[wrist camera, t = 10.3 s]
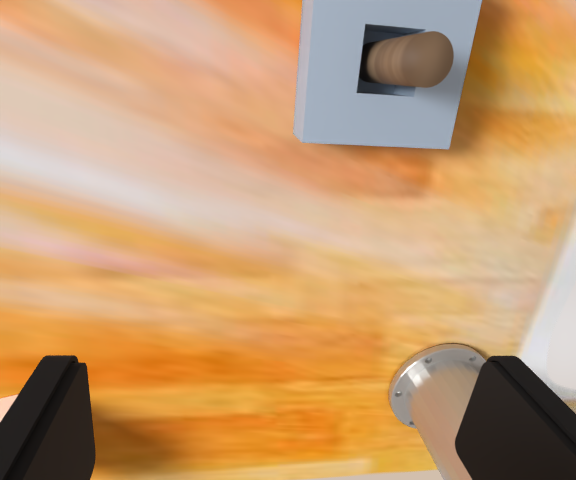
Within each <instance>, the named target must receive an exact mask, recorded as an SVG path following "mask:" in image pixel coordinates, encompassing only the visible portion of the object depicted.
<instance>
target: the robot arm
mask: <svg viewBox="0 0 576 480" xmlns="http://www.w3.org/2000/svg"><path fill="white" fill-rule="evenodd" d="M389 402H390V406H391V408H392V410H393V412H394V414H395V416H396V417H397V418H398V420H400V421H401V422H402V423H403V424H405V425H407V426H409V427H412V428H416V429H417V430H418V432H419V434H420V436H421V438H422V439H423V441H424V443H425V445H426V447H427V449H428V451H429V453H430V455H431V456H432V458H433V460H434V462H435V464H436V466H437V468H438V470H439V472H440V473H441V475H442V477H443V479H444V480H576V414H575V413H574V412H573V411H572V410H571V409H570V408H569V407H568V406H567V405H566V404H565V403H564V402H563V401H562V400H561V399H560V398H559V397H558V396H557V395H556V394H555V393H554V392H553V391H552V390H551V389H550V388H549V387H548V386H547V385H546V384H545V383H544V382H543V381H542V380H541V379H540V378H539V377H538V376H537V375H536V374H535V373H534V372H533V371H532V370H531V369H530V368H528V367H527V366H526V365H525V364H524V363H523V362H522V361H521V360H520V359H519V358H518V357H515V356H491V357H490V358H488V360H487V362H486V360H485V359H484V358H483V357H482V356H481V355H480V354H479V353H478V352H477V351H476V350H474V349H473V348H471V347H468V346H465V345H460V344H443V345H438V346H434V347H431V348H429V349H426V350H424V351H422V352H420V353H418V354H416V355H415V356H413V357H412V358H411V359H409V360H408V361H407V362H406V363H405V364H404V365H403V366H402V367H401V368H400V369H399V370H398V372H397V373H396V374H395V376H394V378H393V380H392V382H391V385H390V389H389ZM94 464H95V443H94V433H93V423H92V413H91V403H90V393H89V384H88V374H87V366H86V363H78V359H77V357H76V356H45V357H43V359H42V360H41V361H40V363H39V364H38V366H37V367H36V369H35V370H34V372H33V373H32V375H31V376H30V378H29V379H28V381H27V382H26V384H25V385H24V387H23V388H22V390H21V391H20V393H19V395H18V396H17V398H16V399H15V401H14V402H13V404H12V405H11V407H10V408H9V410H8V411H7V413H6V414H5V416H4V417H3V419H2V420H1V422H0V480H90V478H91V475H92V472H93V468H94Z"/></svg>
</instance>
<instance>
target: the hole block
mask: <svg viewBox="0 0 576 480" xmlns="http://www.w3.org/2000/svg"><path fill="white" fill-rule="evenodd" d="M481 3H482V0H302V15H301V29H300V43H299V57H298V71H297V86H296V100H295V114H294V128H293V134H294V135H295V136H296V137H297V138H298V139H299V140H300V141H301V142H302V143H321V144H343V145H365V146H387V147H409V148H431V149H449V147H450V142H451V138H452V133H453V129H454V124H455V120H456V115H457V111H458V106H459V102H460V97H461V93H462V88H463V84H464V79H465V75H466V70H467V66H468V61H469V57H470V52H471V48H472V44H473V39H474V35H475V30H476V26H477V21H478V17H479V12H480V8H481ZM429 31H436V32H440V33H442V34H444V35H445V36H446V37H447V38H448V39H449V40H450V42H451V44H452V47H453V51H454V59H453V64H452V67H451V70H450V72H449V73H448V75H447V76H446V78H445V79H444V80H443V81H442V82H440V83H439V84H437V85H435V86H433V87H429V88H422V87H411V86H401V85H390V84H380V83H369V82H365V81H363V80H361V79H360V78H359V70H360V62H361V54H362V46H363V45H365V44H366V43H369V42H375V41H380V40H385V39H391V38H396V37H402V36H407V35H413V34H418V33H424V32H429Z"/></svg>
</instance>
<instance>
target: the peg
mask: <svg viewBox="0 0 576 480" xmlns="http://www.w3.org/2000/svg"><path fill="white" fill-rule="evenodd" d="M453 59H454V51H453V47H452V44H451V42H450V40H449V39H448V38H447V37H446V36H445V35H444V34H442V33H440V32H436V31H429V32H424V33H418V34H413V35H407V36H402V37H396V38H391V39H385V40H380V41H375V42H369V43H366V44H365V45H363V46H362V54H361V62H360V70H359V78H360V79H361V80H363V81H365V82H369V83H380V84H390V85H401V86H411V87H422V88H429V87H433V86H435V85H437V84H439V83H440V82H442V81H443V80H444V79H445V78H446V76H447V75H448V73H449V72H450V70H451V67H452V64H453Z"/></svg>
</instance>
